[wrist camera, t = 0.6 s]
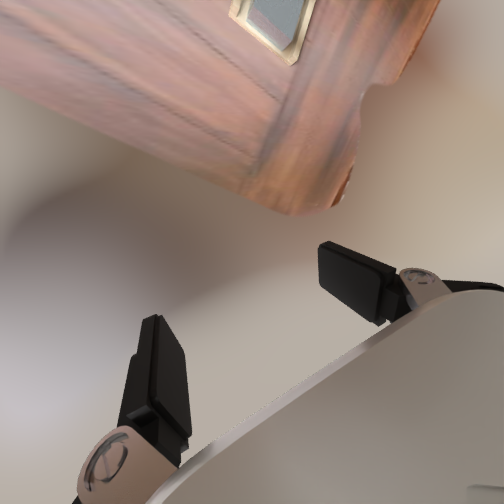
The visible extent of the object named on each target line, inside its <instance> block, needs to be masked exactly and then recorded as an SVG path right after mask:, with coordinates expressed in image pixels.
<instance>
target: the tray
mask: <svg viewBox="0 0 504 504" xmlns="http://www.w3.org/2000/svg"><path fill="white" fill-rule="evenodd" d="M250 1H251V0H232V2H231V6H230V11H229V15H228V16H229V17H231V18H232V19H233V20H234V21H235V22H237V23H238V24H239V25H240V26H242V27H243V28H244V29H245V30H246V31H248V32H249V33H250V34H251V35H253V36H254V37H255V38H256V39H257V40H259V41H260V42H261V43H262V44H264V45H265V46H266V47H267V48H268V49H270V50H271V51H272V52H273V53H275V54H276V55H277V56H278V57H279V58H281V59H282V60H283V61H284V62H286V63H287V64H288V65H289V66H291V65H292V64H293V63H294V62H296V61H297V60H298V56H299V53H300V50H301V47H302V43H303V40H304V37H305V34H306V30H307V27H308V24H309V21H310V17H311V14H312V11H313V8H314V4H315V1H316V0H304V2H303V5H302V9H301V12H300V15H299V19H298V22H297V26H296V29H295V32H294V36H293V39H292V41H291V42H290V44H289V45H288V46H287V47H286V48H285V49H284V50H283V51H282V52H281V51H280V50H279V49H278V48H277V47H276V46H274V45H273V44H272V43H271V42H270V41H268V40H267V39H266V38H265V37H264V36H262V35H261V34H260V33H259V32H258V31H257V30H255V29H254V28H253V27H252V26H251V25H249V24H248V23H247V22H246V18H247V13H248V9H249V5H250Z"/></svg>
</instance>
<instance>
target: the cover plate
mask: <svg viewBox="0 0 504 504" xmlns="http://www.w3.org/2000/svg"><path fill="white" fill-rule="evenodd" d="M303 2H304V0H251V1H250V5H249V9H248V13H247V18H246V22H247V23H248V24H249V25H251V26H252V27H253V28H254V29H255V30H257V31H258V32H259V33H260V34H261V35H262V36H264V37H265V38H266V39H267V40H268V41H270V42H271V43H272V44H273V45H274V46H276V47H277V48H278V49H279V50H280V51H281V52H282V51H283V50H284V49H285V48H286V47H287V46H288V45H289V44H290V42H291V41H292V39H293V36H294V32H295V29H296V26H297V22H298V19H299V15H300V12H301V9H302V5H303Z"/></svg>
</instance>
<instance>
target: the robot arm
mask: <svg viewBox="0 0 504 504" xmlns="http://www.w3.org/2000/svg"><path fill="white" fill-rule="evenodd" d="M318 268H319V269H318V270H319V283H320V286H321V287H322V288H324V289H325V290H326V291H328V292H329V293H330V294H332V295H333V296H335V297H336V298H337V299H339V300H340V301H341V302H343V303H344V304H345V305H347V306H348V307H350V308H351V309H352V310H354V311H355V312H356V313H358V314H359V315H361V316H362V317H363V318H365V319H366V320H368V321H369V322H373V323H374V324H376V325H377V326H378V327H379V326H380V325H382V324H383V323H385V322H386V319H387V320H389V321H390V323H391V324H390V325H389V326H387V327H386V328H384V329H383V330H381V331H379V332H378V333H376V334H375V335H373V336H371V337H370V338H368V339H367V340H365V341H364V342H362V343H361V344H359V345H358V346H356V347H354V348H353V349H351V350H350V351H348V352H347V353H345V354H344V355H342V356H341V357H339V358H338V359H336V360H335V361H333V362H331V363H330V364H328V365H327V366H326V367H324V368H322V369H321V370H319V371H318V372H316V373H315V374H313V375H312V376H310V377H308V378H307V379H305V380H304V381H302V382H301V383H299V384H298V385H296V386H295V387H293V388H292V389H290V390H289V391H287V392H286V393H284V394H283V395H282V396H280V397H278V398H277V399H275V400H274V401H272V402H271V403H269V404H268V405H266V406H265V407H263V408H262V409H260V410H258V411H257V412H256V413H254V414H252V415H251V416H250V417H248V418H247V419H245V420H244V421H242V422H241V423H239V424H238V425H236V426H235V427H233V428H232V429H231V430H229V431H228V432H226V433H225V434H223V435H222V436H220V437H219V438H217V439H216V440H214V441H213V442H212V443H210V444H209V445H208V446H206V447H205V448H204V449H202V450H201V451H200V452H198V453H197V454H196V455H195V456H193V457H192V458H190V459H189V460H188V461H187V462H186V463H185V464H183V465H182V466H181V467H180V468H179V465H180V463H181V453H183V452H184V451H185V450H187V449H189V444H188V438H189V437H190V436H191V435H192V426H191V416H190V404H189V393H188V383H187V373H186V362H185V354H184V351H183V349H182V347H181V345H180V344H179V342H178V340H177V339H176V337H175V335H174V334H173V332H172V331H171V329H170V327H169V325H168V324H167V322H166V321H165V319H164V318H163V316H162V315H160V316H158V315H157V314H155V315H152V316H150V317H148V318H145V319H143V321H142V326H141V332H140V337H139V343H138V349H137V354H135V355H133V356H132V357H131V360H130V364H129V369H128V374H127V379H126V384H125V389H124V394H123V399H122V404H121V408H120V413H119V419H118V424H117V428H116V429H113V430H112V431H110V432H109V433H108V434H107V435H105V436H104V437H103V438H102V439H101V440H100V441H99V442H98V443H97V444H96V445H95V447H94V449H93V450H92V451H91V452H90V454H89V455H88V457H87V459H86V461H85V463H84V464H83V466H82V469H81V472H80V474H79V477H78V482H77V493H78V496H77V497H76V499H75V500H74V501H73V503H72V504H504V287H502V286H500V285H497V284H493V283H485V282H471V281H452V280H441V279H440V278H439V277H438V276H437V275H435V274H434V273H432V272H430V271H427V270H424V269H419V268H407V269H403V270H401V271H400V273H399V275H398V274H396V268H394V267H392V266H389V265H387V264H384V263H382V262H379V261H377V260H375V259H372V258H370V257H367V256H365V255H362V254H360V253H357V252H355V251H353V250H350V249H347V248H345V247H343V246H341V245H338V244H335V243H333V242H331V241H327V242H325V243H322V244H320V245H319V248H318Z"/></svg>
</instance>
